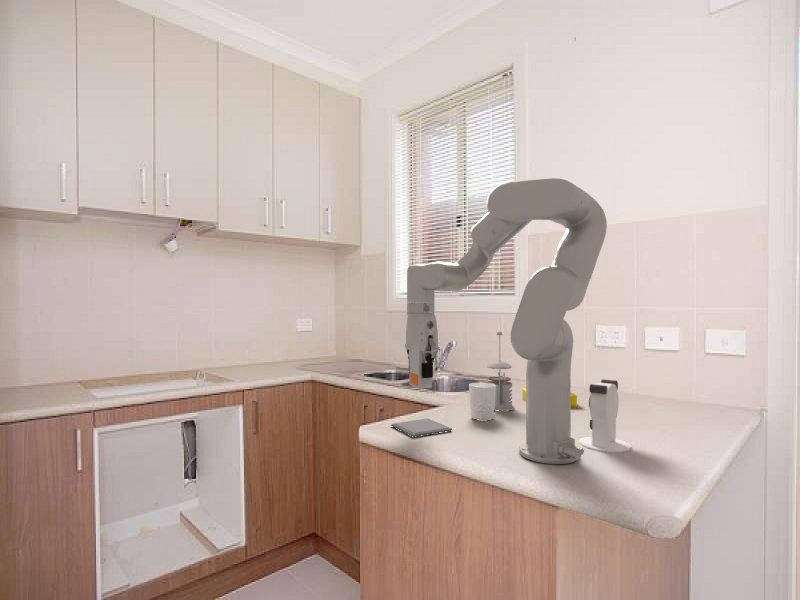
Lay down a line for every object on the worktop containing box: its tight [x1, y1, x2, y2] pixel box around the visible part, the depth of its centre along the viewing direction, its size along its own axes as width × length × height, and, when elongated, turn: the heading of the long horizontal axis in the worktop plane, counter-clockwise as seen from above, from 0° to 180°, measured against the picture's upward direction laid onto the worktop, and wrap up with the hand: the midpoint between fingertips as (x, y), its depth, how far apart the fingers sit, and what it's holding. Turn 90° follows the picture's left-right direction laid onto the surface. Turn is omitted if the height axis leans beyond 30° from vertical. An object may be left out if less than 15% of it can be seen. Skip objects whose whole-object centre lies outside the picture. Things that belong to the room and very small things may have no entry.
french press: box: [486, 331, 516, 412], centre depth 146 cm, size 10×12×25 cm
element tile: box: [522, 387, 578, 409], centre depth 155 cm, size 15×15×5 cm
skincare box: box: [408, 345, 433, 390], centre depth 123 cm, size 6×4×12 cm
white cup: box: [468, 382, 496, 421], centre depth 134 cm, size 8×8×10 cm
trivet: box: [390, 418, 453, 437], centre depth 123 cm, size 12×12×1 cm
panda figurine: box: [578, 378, 632, 454], centre depth 109 cm, size 12×11×15 cm
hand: (420, 375), depth 123 cm, fingers closed on skincare box, 6 cm apart
